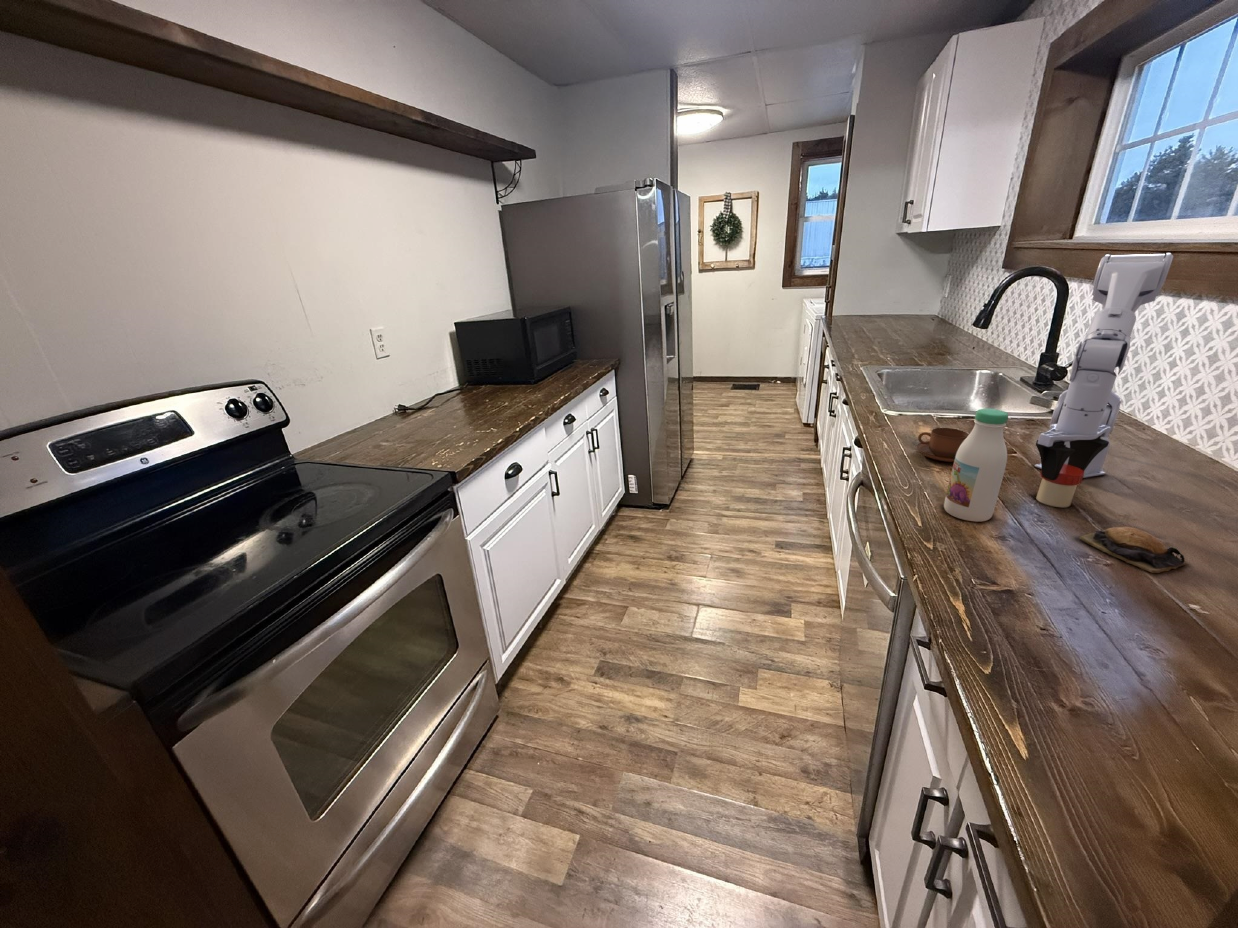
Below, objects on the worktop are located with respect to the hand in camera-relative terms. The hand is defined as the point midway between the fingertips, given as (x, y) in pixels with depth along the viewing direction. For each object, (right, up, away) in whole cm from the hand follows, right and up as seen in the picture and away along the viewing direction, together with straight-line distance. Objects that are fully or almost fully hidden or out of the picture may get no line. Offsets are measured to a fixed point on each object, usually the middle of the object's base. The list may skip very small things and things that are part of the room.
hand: (1061, 475), depth 95 cm
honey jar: (0, -5, +2) cm, 5 cm away
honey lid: (0, +1, 0) cm, 1 cm away
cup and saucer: (-6, +4, +25) cm, 26 cm away
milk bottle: (-18, -7, -1) cm, 20 cm away
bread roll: (-2, -12, -14) cm, 19 cm away
